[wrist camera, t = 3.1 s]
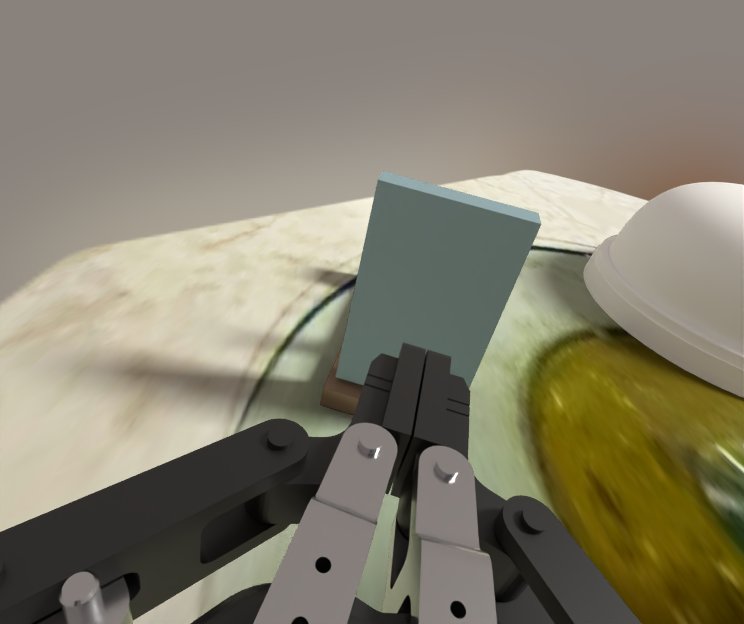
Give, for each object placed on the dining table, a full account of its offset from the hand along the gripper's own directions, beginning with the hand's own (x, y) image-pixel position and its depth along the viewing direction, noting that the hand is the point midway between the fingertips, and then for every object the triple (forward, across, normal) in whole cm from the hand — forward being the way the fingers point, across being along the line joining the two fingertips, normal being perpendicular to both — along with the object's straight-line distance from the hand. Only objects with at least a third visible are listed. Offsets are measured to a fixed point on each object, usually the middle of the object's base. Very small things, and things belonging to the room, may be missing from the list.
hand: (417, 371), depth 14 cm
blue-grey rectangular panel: (+13, 0, +11) cm, 17 cm away
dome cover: (+40, -34, +13) cm, 54 cm away
